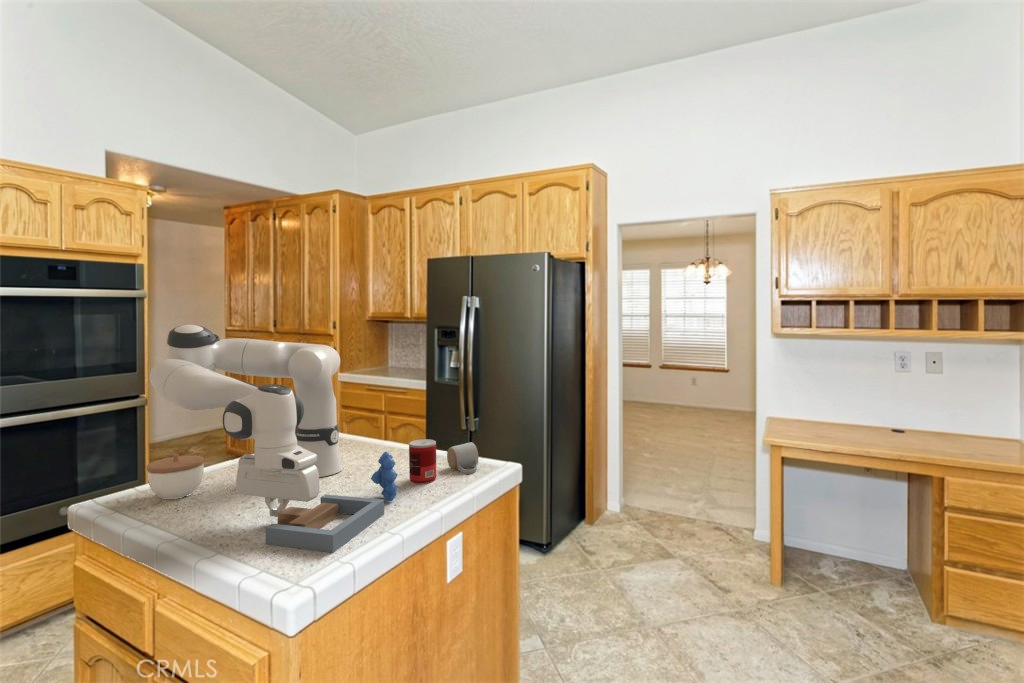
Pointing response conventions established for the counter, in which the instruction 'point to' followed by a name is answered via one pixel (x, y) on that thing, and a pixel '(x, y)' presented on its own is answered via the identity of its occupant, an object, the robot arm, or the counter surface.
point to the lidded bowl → (175, 475)
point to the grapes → (386, 476)
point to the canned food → (422, 461)
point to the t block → (308, 516)
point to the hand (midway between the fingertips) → (277, 516)
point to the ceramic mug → (463, 457)
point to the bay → (336, 537)
